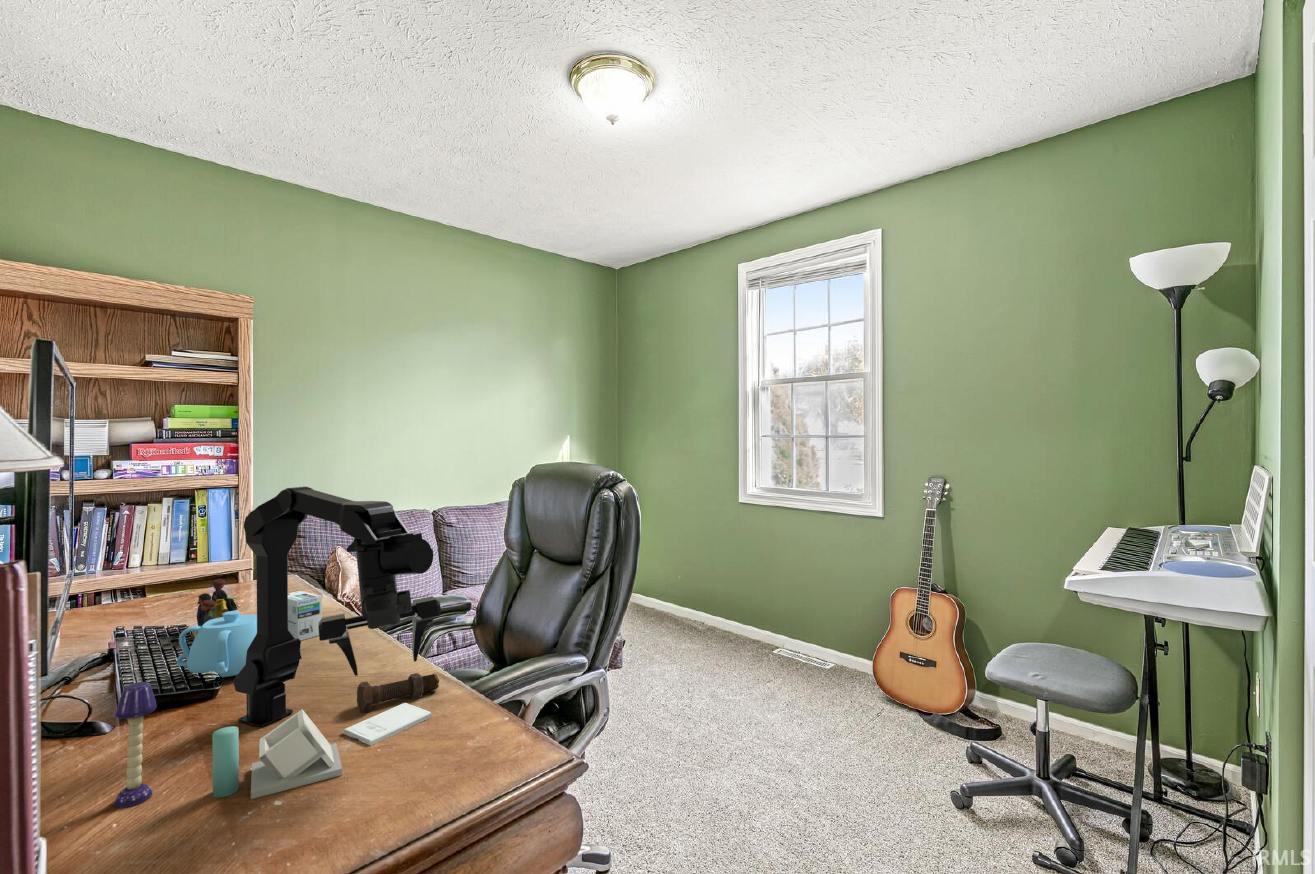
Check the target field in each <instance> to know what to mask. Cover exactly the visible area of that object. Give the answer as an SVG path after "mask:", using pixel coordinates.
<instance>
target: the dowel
mask: <svg viewBox="0 0 1315 874" xmlns="http://www.w3.org/2000/svg"><path fill="white" fill-rule="evenodd" d="M211 736H212V797H214V798H225V797H229V796H231V795H233V794H234V793H236V792H237V791H238V790H239V789H240V785H239V784H240V781H239V780H240V776H239V775H240V774H239V773H240V772H239V771H240V769H239V762H240V760H239V757H240V756H239V752H240V751H239V749H240V748H239V727H238V726H232V725H231V726H225V727H221V728H219V729H217V730H215V731H214V732H213V733H212V735H211Z"/></svg>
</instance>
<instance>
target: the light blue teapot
mask: <svg viewBox="0 0 1315 874" xmlns="http://www.w3.org/2000/svg"><path fill="white" fill-rule="evenodd" d="M240 613H241V612H240V611H239V610H235V611H229V612H225V613H223V614H222V616H223V617H221V618H216V619H212V620H209V621H207V622H206V623H204V624H203V625H202V627H201V626H198V625H193V626H189V627H187V628H185V629H184V630H182V632H181V633H180V635H179V636H178V643H179V646H180V649H181V651H182V652H183V654H180V655H179V656H178V657H177V658H176V663H177V665H178V666H179V667H182V666H186V667H187V671H188V670H189V671H190V672H193V673H205V672H209V671H215V672H216V673H218V674H219V675H220V676H221V677H222V678H228V677H233V676H235V677H236V676H237V675H238V674H239V672H240V671H241V670H242V669H243V667H244V666H245V664H246V655H247V650H248V648H249V646H250V644H251V643H252V641H253V639H254V638H255V636H256V634H257V614H242V613H241V614H240ZM195 631H199V632H198V634H197V635H196V636H194V640H193V642H192V644H191V647H190V648H189V646H188V644H187V643H188V642H187V641H186V635H187V634H189V633H191V632H195ZM183 658H185V659H186V661H185V660H183ZM189 671H188V672H189ZM190 672H189V673H190Z"/></svg>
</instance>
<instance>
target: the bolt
mask: <svg viewBox="0 0 1315 874" xmlns="http://www.w3.org/2000/svg"><path fill="white" fill-rule="evenodd" d="M439 683H440V679H439V677H438V675H437V674H436V673H432V674H428V675H427V674H426V675H421V674H420V673H417V672H415V673H411V674H410V675H409V676H408V678H407V679H404V680H403V679H402V680H400V681H394V682H389V683H386V684H385V683H384V684H381V685H371V684H370V683H369V682H368V681H361V682H359V684H358V685H357V690H356V703H357V707H358V710H359V711H360V713H367V712H368V713H369V712H371V710H372V706H373V705H377V704H380V703H384V702H387V701H391V700H396V699H402V698H405V697H409V698H411V699H413V698H414V699H419V698H421V697H422V695H423V694H424V693H427V692H430V691H431V692H432V691H436V690H437V689H438V688H440V687H439V686H440V685H439ZM418 697H419V698H418ZM414 699H413V700H414Z"/></svg>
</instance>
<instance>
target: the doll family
mask: <svg viewBox="0 0 1315 874" xmlns="http://www.w3.org/2000/svg"><path fill="white" fill-rule="evenodd" d="M225 583H226V580H225V579H223V578H217V579H214V580H212V584H211V585H213V586H212V587H213V589H214V591H213V592H212V596H211V595H210V593H207V592H205V593H201V594H200V595H197V597H198V601H197V600H196V599H195V600H194V601H195V602H197V603H196V604H197V605H198V606H197V611H196V622H197V626H201V627H202V625H203V624H204V623H206V622H207V621H209V620H212V619H216V618H221V617H223V616H222V614H223V613H225V612H229V611H239V609H238V608H241V607H240V606H239V605H238V604H237V603H236V602H235V600H236V599H238V598H239V597H238V596H236V597H229V594H227V592H226V591H225V590H223V588H225V587H224V586H225ZM234 599H235V600H234ZM198 632H199V631H194V634H193V636H194V635H195V636H194V637H196V635H197V634H198Z"/></svg>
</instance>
